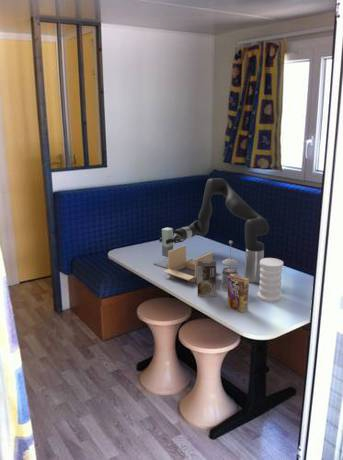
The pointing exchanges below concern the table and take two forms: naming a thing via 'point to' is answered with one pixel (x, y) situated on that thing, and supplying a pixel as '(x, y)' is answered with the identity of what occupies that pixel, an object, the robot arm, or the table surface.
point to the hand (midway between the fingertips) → (163, 241)
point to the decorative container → (270, 280)
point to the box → (166, 234)
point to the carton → (184, 263)
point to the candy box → (238, 292)
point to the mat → (162, 263)
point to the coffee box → (206, 278)
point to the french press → (228, 270)
